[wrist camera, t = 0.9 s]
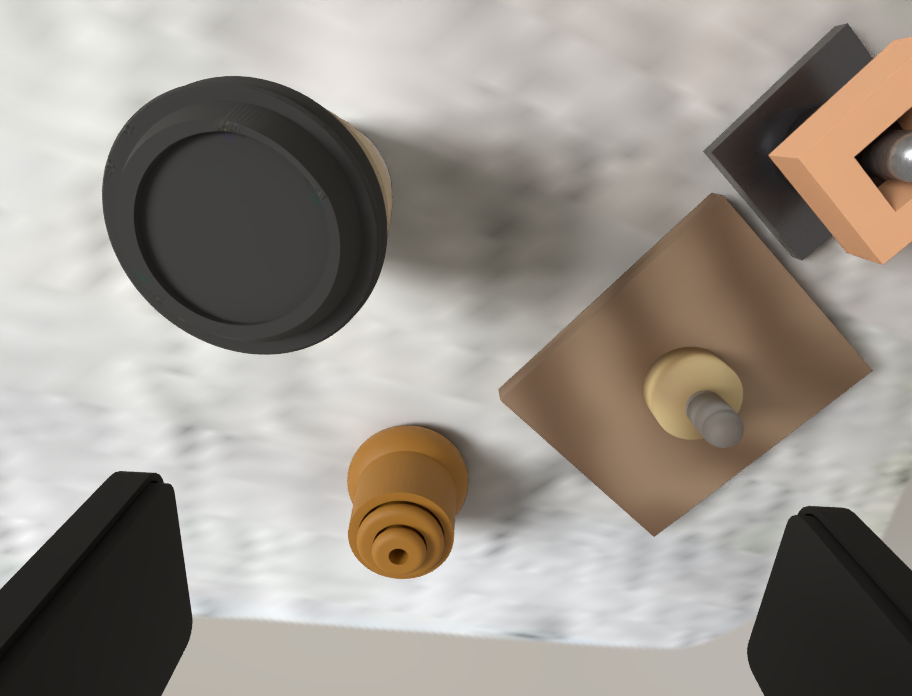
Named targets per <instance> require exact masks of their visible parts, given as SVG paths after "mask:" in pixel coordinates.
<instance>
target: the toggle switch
mask: <svg viewBox="0 0 912 696" xmlns="http://www.w3.org/2000/svg"><path fill="white" fill-rule="evenodd" d="M872 371H873V370H872V369H871V368H870V367H869V366H868V365H867V363H866V362H865V361H864V360H863V359H862V358H861V356H860V355H859V354H858V353H857V352H856V351H855V349H854V348H853V347H852V346H851V345H850V344H849V342H848V341H847V340H846V339H845V338H844V337H843V335H842V334H841V333H840V332H839V331H838V330H837V328H836V327H835V326H834V325H833V324H832V323H831V321H830V320H829V319H828V318H827V317H826V316H825V314H824V313H823V312H822V311H821V310H820V309H819V307H818V306H817V305H816V304H815V303H814V301H813V300H812V299H811V298H810V297H809V296H808V294H807V293H806V292H805V291H804V290H803V289H802V287H801V286H800V285H799V284H798V283H797V282H796V280H795V279H794V278H793V277H792V276H791V275H790V273H789V272H788V271H787V270H786V269H785V268H784V266H783V265H782V264H781V263H780V262H779V261H778V259H777V258H776V257H775V256H774V255H773V254H772V252H771V251H770V250H769V249H768V248H767V247H766V245H765V244H764V243H763V242H762V241H761V240H760V238H759V237H758V236H757V235H756V234H755V232H754V231H753V230H752V229H751V228H750V227H749V225H748V224H747V223H746V222H745V221H744V220H743V218H742V217H741V216H740V215H739V214H738V213H737V211H736V210H735V209H734V208H733V207H732V206H731V204H730V203H729V202H728V201H727V200H726V199H725V197H724V196H721V195H717V194H713V193H711V194H710V195H709V196H708V197H707V198H705V199H704V200H703V201H702V202H701V203H700V204H699V205H698V206H697V207H696V208H695V209H694V210H692V211H691V212H690V213H689V214H688V215H687V216H686V217H685V218H684V219H683V220H682V221H681V222H679V223H678V224H677V225H676V226H675V227H674V228H673V229H672V230H671V231H670V232H669V233H668V234H666V235H665V236H664V237H663V238H662V239H661V240H660V241H659V242H658V243H657V244H656V245H655V246H653V247H652V248H651V249H650V250H649V251H648V252H647V253H646V254H645V255H644V256H643V257H642V258H640V259H639V260H638V261H637V262H636V263H635V264H634V265H633V266H632V267H631V268H630V269H629V270H627V271H626V272H625V273H624V274H623V275H622V276H621V277H620V278H619V279H618V280H617V281H616V282H614V283H613V284H612V285H611V286H610V287H609V288H608V289H607V290H606V291H605V292H604V293H603V294H601V295H600V296H599V297H598V298H597V299H596V300H595V301H594V302H593V303H592V304H591V305H590V306H588V307H587V308H586V309H585V310H584V311H583V312H582V313H581V314H580V315H579V316H578V317H577V318H575V319H574V320H573V321H572V322H571V323H570V324H569V325H568V326H567V327H566V328H565V329H564V330H562V331H561V332H560V333H559V334H558V335H557V336H556V337H555V338H554V339H553V340H552V341H551V342H549V343H548V344H547V345H546V346H545V347H544V348H543V349H542V350H541V351H540V352H539V353H538V354H536V355H535V356H534V357H533V358H532V359H531V360H530V361H529V362H528V363H527V364H526V365H525V366H523V367H522V368H521V369H520V370H519V371H518V372H517V373H516V374H515V375H514V376H513V377H512V378H510V379H509V380H508V381H507V382H506V383H505V384H504V385H503V386H502V387H501V388H500V389H499V395H500V400H501V401H502V402H503V403H504V404H505V405H506V406H507V407H509V408H510V409H511V410H512V411H513V412H514V413H515V414H516V415H518V416H519V417H520V418H521V419H522V420H523V421H524V422H525V423H527V424H528V425H529V426H530V427H531V428H532V429H533V430H534V431H536V432H537V433H538V434H539V435H540V436H541V437H542V438H543V439H545V440H546V441H547V442H548V443H549V444H550V445H551V446H552V447H554V448H555V449H556V450H557V451H558V452H559V453H560V454H561V455H563V456H564V457H565V458H566V459H567V460H568V461H569V462H570V463H572V464H573V465H574V466H575V467H576V468H577V469H578V470H579V471H581V472H582V473H583V474H584V475H585V476H586V477H587V478H588V479H590V480H591V481H592V482H593V483H594V484H595V485H596V486H597V487H599V488H600V489H601V490H602V491H603V492H604V493H605V494H606V495H608V496H609V497H610V498H611V499H612V500H613V501H614V502H615V503H617V504H618V505H619V506H620V507H621V508H622V509H623V510H624V511H626V512H627V513H628V514H629V515H630V516H631V517H632V518H633V519H635V520H636V521H637V522H638V523H639V524H640V525H641V526H642V527H644V528H645V529H646V530H647V531H648V532H649V533H650V534H651V535H653V536H654V537H655V536H656V535H657V534H659V533H660V532H661V531H663V530H664V529H665V528H666V527H668V526H669V525H670V524H672V523H673V522H674V521H676V520H677V519H678V518H680V517H681V516H682V515H684V514H685V513H686V512H688V511H689V510H690V509H691V508H693V507H694V506H695V505H697V504H698V503H699V502H701V501H702V500H703V499H705V498H706V497H707V496H709V495H710V494H711V493H713V492H714V491H715V490H716V489H718V488H719V487H720V486H722V485H723V484H724V483H726V482H727V481H728V480H730V479H731V478H732V477H734V476H735V475H736V474H737V473H739V472H740V471H741V470H743V469H744V468H745V467H747V466H748V465H749V464H751V463H752V462H753V461H755V460H756V459H757V458H759V457H760V456H761V455H762V454H764V453H765V452H766V451H768V450H769V449H770V448H772V447H773V446H774V445H776V444H777V443H778V442H780V441H781V440H782V439H784V438H785V437H786V436H787V435H789V434H790V433H791V432H793V431H794V430H795V429H797V428H798V427H799V426H801V425H802V424H803V423H805V422H806V421H807V420H809V419H810V418H811V417H812V416H814V415H815V414H816V413H818V412H819V411H820V410H822V409H823V408H824V407H826V406H827V405H828V404H830V403H831V402H832V401H833V400H835V399H836V398H837V397H839V396H840V395H841V394H843V393H844V392H845V391H847V390H848V389H849V388H851V387H852V386H853V385H855V384H856V383H857V382H858V381H860V380H861V379H862V378H864V377H865V376H866V375H868V374H869V373H870V372H872Z"/></svg>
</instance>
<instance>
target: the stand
mask: <svg viewBox="0 0 912 696" xmlns="http://www.w3.org/2000/svg"><path fill="white" fill-rule="evenodd" d="M872 60H873V58H872V57H871V56H870V54H869V53H868V51H867V50H866V49H865V47H864V46H863V44H862V43H861V42H860V40H859V39H858V37H857V36H856V34H855V33H854V32H853V30H852V29H851V27H850V26H849V25H848V23H847V24H843V25H839V26H835V27H834V28H833V29H832V30H831V31H830V32H829V33H828V34H827V35H825V36H824V37H823V38H822V39H821V40H820V41H819V42H818V43H817V44H816V45H815V46H814V47H813V48H812V49H811V50H810V51H809V52H808V53H807V54H805V55H804V56H803V57H802V58H801V59H800V60H799V61H798V62H797V63H796V64H795V65H794V66H793V67H792V68H791V69H790V70H789V71H788V72H787V73H785V74H784V75H783V76H782V77H781V78H780V79H779V80H778V81H777V82H776V83H775V84H774V85H773V86H772V87H771V88H770V89H769V90H768V91H767V92H765V93H764V94H763V95H762V96H761V97H760V98H759V99H758V100H757V101H756V102H755V103H754V104H753V105H752V106H751V107H750V108H749V109H748V110H746V111H745V112H744V113H743V114H742V115H741V116H740V117H739V118H738V119H737V120H736V121H735V122H734V123H733V124H732V125H731V126H730V127H729V128H728V129H726V130H725V131H724V132H723V133H722V134H721V135H720V136H719V137H718V138H717V139H716V140H715V141H714V142H713V143H712V144H711V145H710V146H709V147H708V148H706V149H705V150H704V151H703V152H704V153H705V154H706V155H707V156H708V158H709V159H710V160H711V161H712V162H713V163H714V165H715V166H716V167H717V168H718V169H719V171H720V172H721V173H722V174H723V175H724V176H725V178H726V179H727V180H728V181H729V182H730V184H731V185H732V186H733V187H734V188H735V190H736V191H737V192H738V193H739V194H740V195H741V197H742V198H743V199H744V200H745V201H746V203H747V204H748V205H749V206H750V207H751V208H752V210H753V211H754V212H755V213H756V214H757V216H758V217H759V218H760V219H761V220H762V221H763V223H764V224H765V225H766V226H767V227H768V229H769V230H770V231H771V232H772V233H773V235H774V236H775V237H776V238H777V239H778V240H779V242H780V243H781V244H782V245H783V246H784V248H785V249H786V250H787V251H788V252H789V253H790V255H791V256H792V257H795V258H797V259H800V260H803V259H804V258H805V257H807V256H808V255H809V254H810V253H811V252H813V251H814V250H815V249H816V248H817V247H818V246H820V245H821V244H822V243H823V242H824V241H826V240H827V239H828V238H829V237H830V236H831V235H832V234H831V232H830V231H829V230H828V229H827V227H826V226H825V225H824V224H823V223H822V221H821V220H820V219H819V218H818V216H817V215H816V214H815V213H814V211H813V210H812V209H811V208H810V206H809V205H808V204H807V203H806V201H805V200H804V199H803V198H802V197H801V195H800V194H799V193H798V192H797V190H796V189H795V188H794V187H793V185H792V184H791V183H790V182H789V180H788V179H787V178H786V177H785V176H784V174H783V173H782V172H781V171H780V169H779V168H778V167H777V166H776V164H775V163H774V162H773V161H772V159H771V158H770V157H769V156H768V155H769V154H770V153H771V152H772V151H773V150H774V149H776V148H777V147H778V146H779V145H780V144H781V143H782V142H783V141H784V140H785V139H787V138H788V137H789V136H790V135H791V134H792V133H793V132H794V131H795V130H796V129H797V128H799V127H800V126H801V125H802V124H803V123H804V122H805V121H806V120H807V119H808V118H809V117H811V116H812V115H813V114H814V113H815V112H816V111H817V110H818V109H819V108H820V107H821V106H823V105H824V104H825V103H826V102H827V101H828V100H829V99H830V98H831V97H832V96H833V95H835V94H836V93H837V92H838V91H839V90H840V89H841V88H842V87H843V86H844V85H846V84H847V83H848V82H849V81H850V80H851V79H852V78H853V77H854V76H855V75H856V74H858V73H859V72H860V71H861V70H862V69H863V68H864V67H865V66H866V65H867V64H868V63H870V62H871V61H872ZM854 158H855V159H856V161H857V162H858V163H859V165H860V166H861V167H862V169H863V170H864V171H865V173H866V174H867V175H868V176H869V178H870V179H871V180H872V182H873V183H874V184H875V186H876V187H877V188H878V187H879V186H880V185H881V184H882V183H884V182H885V181H886V180H895V181H903V182H911V183H912V130H903V129H902V127H901V126H900V124H899V123H898V122H897V120H896V121H895V122H894V123H892V124H891V125H890V126H889V127H888V128H887V129H886V130H884V131H883V132H882V133H881V134H880V135H879V136H878V137H876V138H875V139H874V140H873V141H872V142H871V143H869V144H868V145H867V146H866V147H865V148H864V149H863V150H861V151H860V152H859V153H858V154H857V155H856V156H855V157H854Z"/></svg>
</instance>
